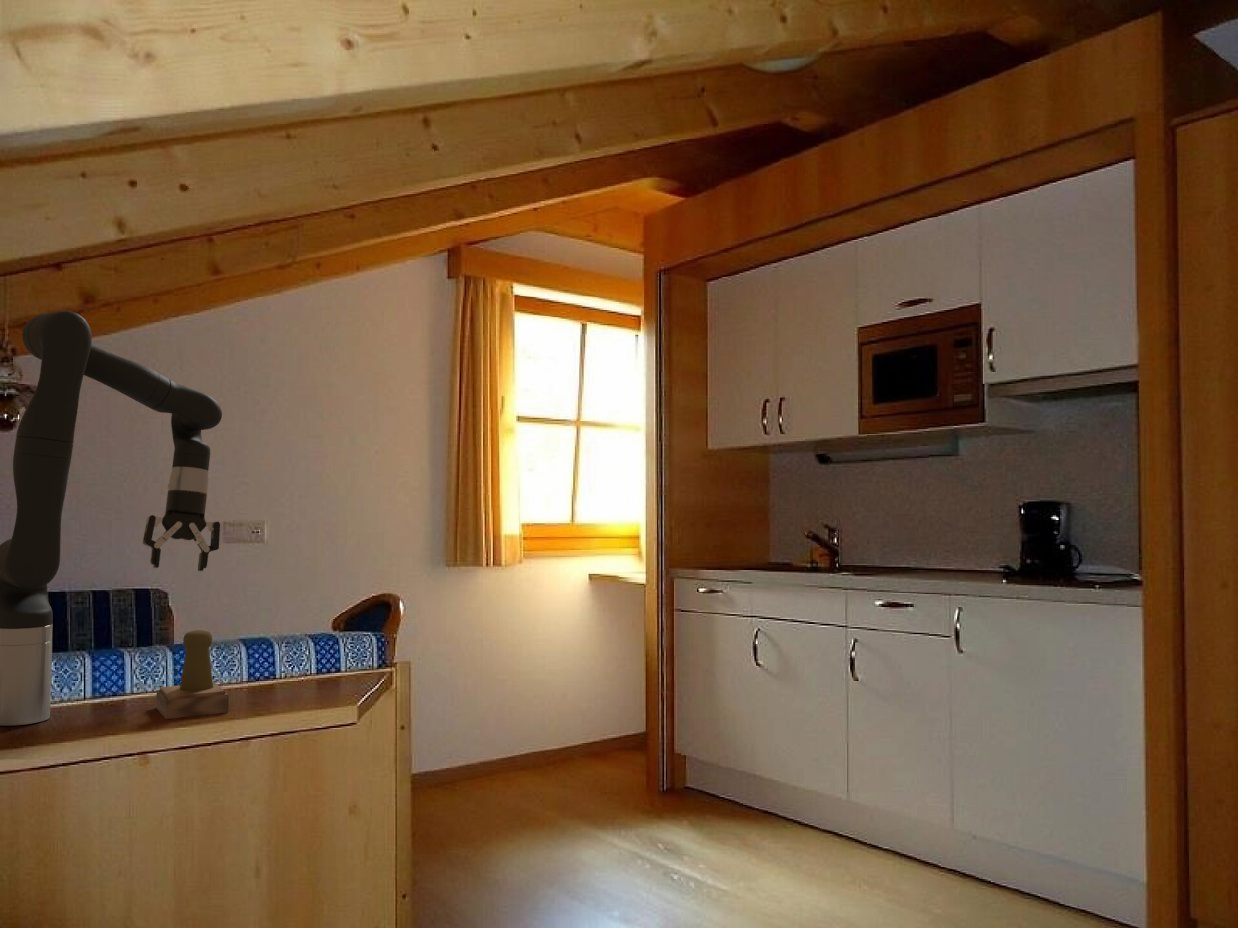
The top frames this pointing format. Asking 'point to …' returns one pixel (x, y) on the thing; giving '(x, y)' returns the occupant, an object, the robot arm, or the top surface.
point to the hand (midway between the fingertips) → (178, 569)
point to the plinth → (191, 701)
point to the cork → (197, 662)
